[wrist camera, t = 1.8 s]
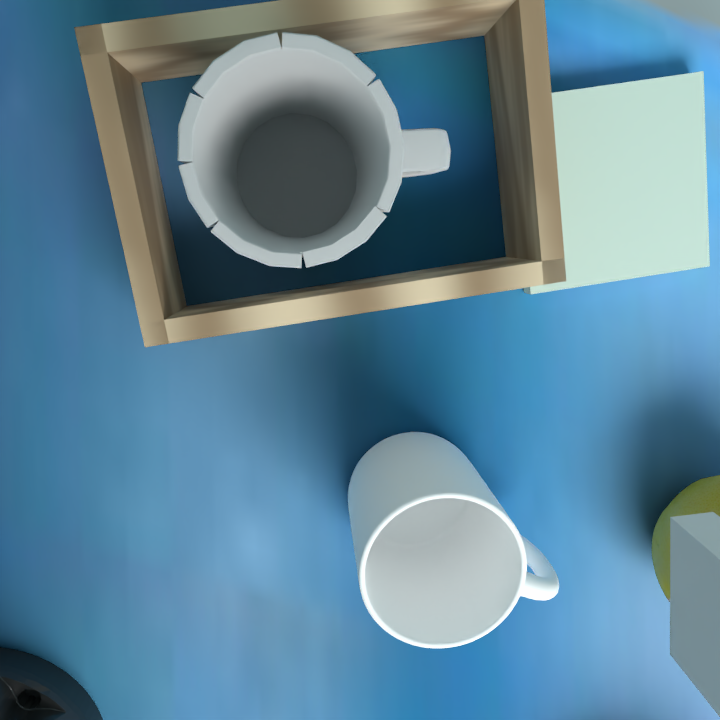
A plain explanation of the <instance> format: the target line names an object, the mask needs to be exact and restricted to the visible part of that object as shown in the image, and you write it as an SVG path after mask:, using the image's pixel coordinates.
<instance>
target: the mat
mask: <svg viewBox="0 0 720 720" xmlns="http://www.w3.org/2000/svg"><path fill="white" fill-rule="evenodd" d="M552 106H553V118H554V131H555V144H556V156H557V169H558V182H559V194H560V207H561V220H562V232H563V245H564V258H565V270H566V281H564V282H558V283H552V284H545V285H539V286H532V287H526V288H524V293H528V294H536V293H542V292H549V291H555V290H561V289H568V288H574V287H580V286H587V285H593V284H600V283H606V282H612V281H619V280H625V279H631V278H638V277H644V276H650V275H657V274H663V273H669V272H676V271H682V270H689V269H695V268H701V267H708V266H710V262H709V231H708V199H707V168H706V137H705V105H704V74H703V71H702V72H695V73H688V74H681V75H674V76H667V77H660V78H653V79H645V80H638V81H631V82H624V83H617V84H610V85H603V86H596V87H589V88H582V89H575V90H568V91H561V92H554V93H552Z"/></svg>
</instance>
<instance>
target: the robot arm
mask: <svg viewBox="0 0 720 720" xmlns="http://www.w3.org/2000/svg"><path fill="white" fill-rule="evenodd" d="M670 655H671V656H672V657H673V659H674V660H675V661H676V662H677V664H678V665H679V666H680V667H681V669H682V670H683V671H684V672H685V674H686V675H687V676H688V678H689V679H690V680H691V681H692V683H693V684H694V685H695V686H696V688H697V689H698V690H699V691H700V693H701V694H702V695H703V697H704V698H705V699H706V700H707V702H708V703H709V704H710V705H711V707H712V708H713V709H714V710H715V712H716V713H717V714H718V715H719V717H720V517H719V516H718V515H717V514H715V513H714V512H708V513H700V514H691V515H683V516H675V517H670ZM0 720H103V719H102V717H101V714H100V712H99V710H98V708H97V706H96V705H95V703H94V701H93V700H92V698H91V697H90V696H89V694H88V693H87V692H86V691H85V689H84V688H83V687H82V686H81V685H80V684H79V683H78V682H77V681H76V680H75V679H73V678H72V677H71V676H70V675H69V674H67V673H66V672H65V671H63V670H62V669H60V668H59V667H57V666H55V665H54V664H52V663H50V662H48V661H46V660H44V659H42V658H39V657H37V656H34V655H32V654H29V653H25V652H22V651H18V650H14V649H8V648H2V647H0Z"/></svg>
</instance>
